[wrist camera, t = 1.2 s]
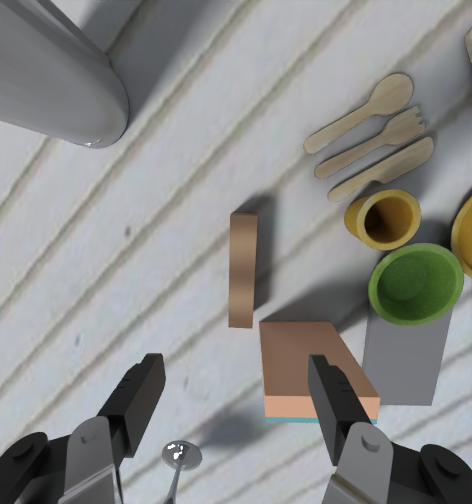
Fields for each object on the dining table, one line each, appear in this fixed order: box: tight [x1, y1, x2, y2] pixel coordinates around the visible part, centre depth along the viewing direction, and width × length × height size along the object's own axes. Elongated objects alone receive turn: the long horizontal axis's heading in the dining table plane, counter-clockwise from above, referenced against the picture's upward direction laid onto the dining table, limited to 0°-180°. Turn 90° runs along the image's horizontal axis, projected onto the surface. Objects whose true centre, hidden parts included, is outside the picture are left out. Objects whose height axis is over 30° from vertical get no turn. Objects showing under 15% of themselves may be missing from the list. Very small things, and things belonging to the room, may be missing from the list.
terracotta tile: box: [259, 321, 380, 424], centre depth 26 cm, size 3×10×12 cm, turn 92°
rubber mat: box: [362, 303, 453, 406], centre depth 31 cm, size 18×10×1 cm, turn 2°
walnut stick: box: [228, 213, 258, 328], centre depth 28 cm, size 14×3×4 cm, turn 179°
